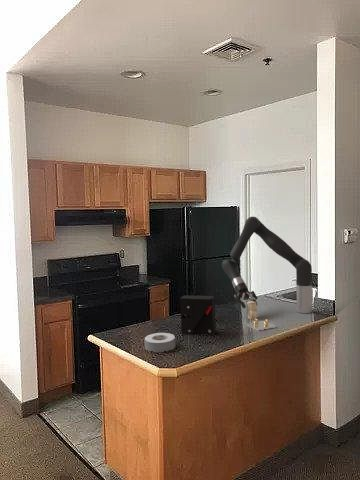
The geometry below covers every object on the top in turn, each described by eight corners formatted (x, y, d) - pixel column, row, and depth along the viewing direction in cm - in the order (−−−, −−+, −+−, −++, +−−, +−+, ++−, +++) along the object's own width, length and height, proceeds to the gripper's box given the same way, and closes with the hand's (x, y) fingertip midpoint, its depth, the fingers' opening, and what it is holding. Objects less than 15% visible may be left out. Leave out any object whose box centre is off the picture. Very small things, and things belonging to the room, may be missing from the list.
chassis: (246, 325, 231) (246, 319, 231) (263, 322, 236) (263, 316, 236) (258, 330, 220) (258, 324, 220) (276, 327, 225) (276, 321, 225)
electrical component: (216, 330, 224) (215, 295, 223) (212, 336, 215) (210, 299, 213) (186, 328, 230) (185, 294, 229) (181, 334, 220) (179, 298, 219)
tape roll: (178, 350, 196) (177, 340, 195) (147, 354, 193) (146, 343, 192) (172, 340, 211) (171, 331, 210) (143, 344, 208) (142, 334, 207)
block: (247, 318, 247) (247, 302, 246) (253, 317, 248) (252, 301, 247) (251, 319, 243) (251, 303, 242) (257, 318, 245) (256, 302, 244)
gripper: (232, 283, 250) (243, 305, 241) (251, 280, 256) (262, 301, 247) (228, 290, 256) (238, 311, 246) (246, 287, 261) (257, 308, 252)
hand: (250, 306), depth 246 cm, fingers open, 8 cm apart
